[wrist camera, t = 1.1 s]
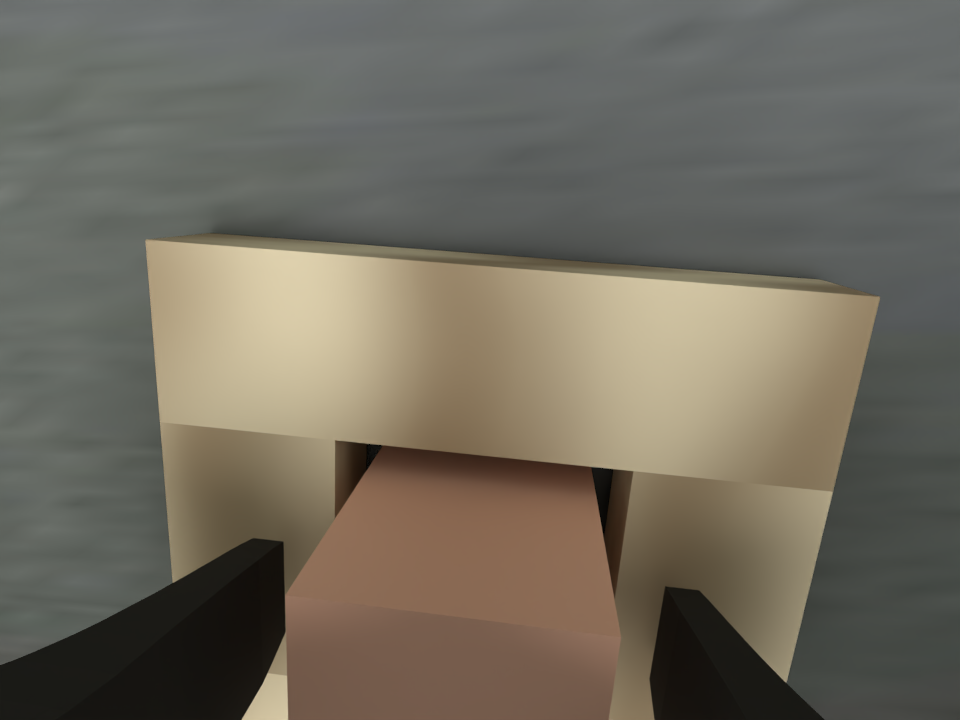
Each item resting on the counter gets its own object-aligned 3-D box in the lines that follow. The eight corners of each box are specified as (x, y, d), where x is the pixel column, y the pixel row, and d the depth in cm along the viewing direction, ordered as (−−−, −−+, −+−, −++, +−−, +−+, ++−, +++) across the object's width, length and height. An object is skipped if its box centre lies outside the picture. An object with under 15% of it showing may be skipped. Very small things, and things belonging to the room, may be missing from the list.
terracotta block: (587, 448, 13) (621, 637, 8) (567, 617, 15) (582, 891, 9) (393, 429, 14) (285, 595, 8) (389, 594, 15) (290, 844, 9)
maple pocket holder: (820, 279, 12) (879, 296, 10) (713, 776, 15) (740, 869, 13) (210, 233, 13) (145, 239, 11) (234, 708, 16) (188, 785, 14)
